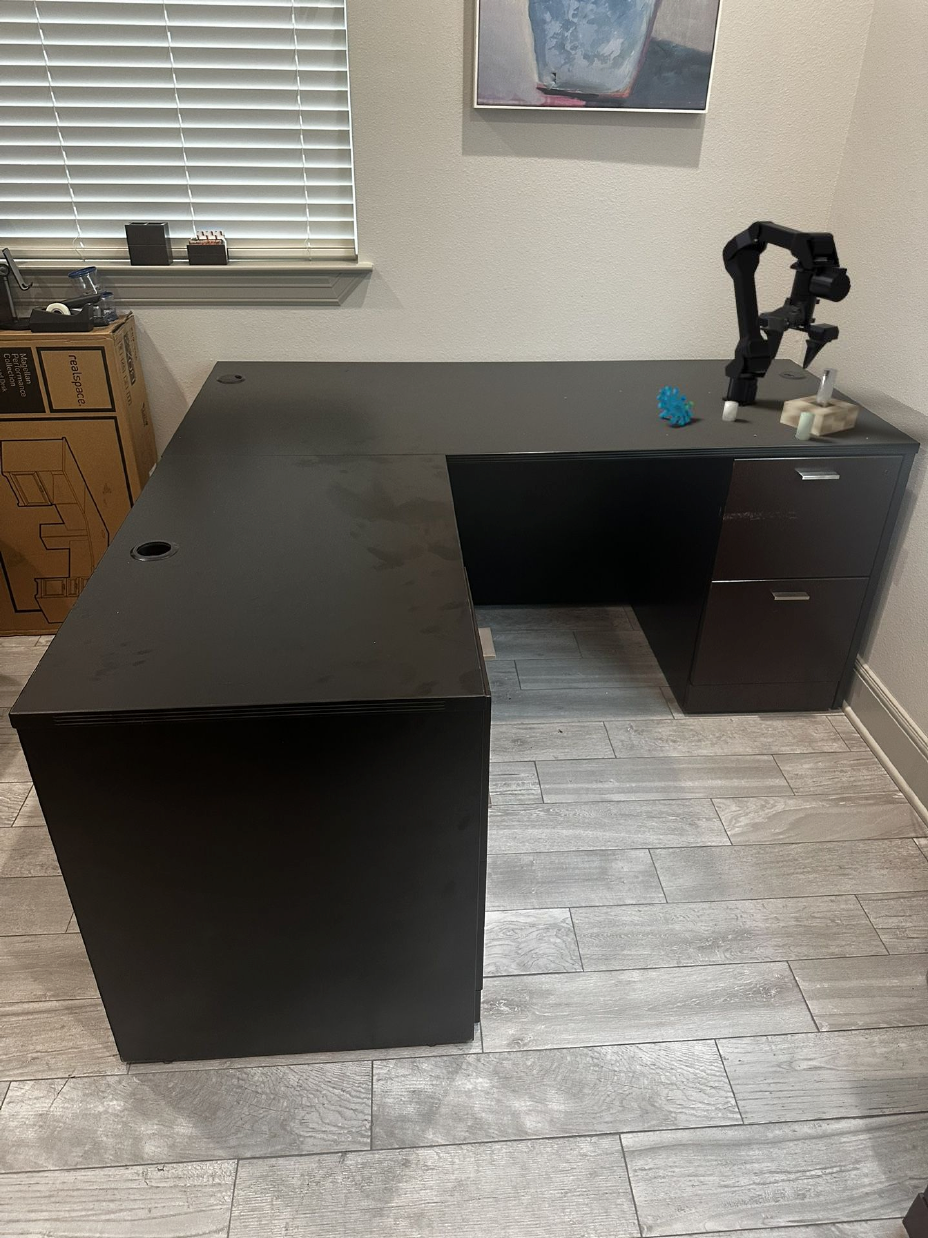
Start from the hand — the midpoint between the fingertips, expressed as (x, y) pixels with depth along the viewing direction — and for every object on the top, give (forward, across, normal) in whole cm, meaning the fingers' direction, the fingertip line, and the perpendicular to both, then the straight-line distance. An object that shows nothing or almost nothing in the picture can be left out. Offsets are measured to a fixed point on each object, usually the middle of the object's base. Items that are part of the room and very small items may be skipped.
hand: (788, 363), depth 195 cm
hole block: (+13, +8, +5) cm, 16 cm away
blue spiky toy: (+13, -10, -24) cm, 29 cm away
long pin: (+13, +8, +5) cm, 16 cm away
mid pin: (+13, +12, -6) cm, 19 cm away
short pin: (+13, -5, -11) cm, 18 cm away
